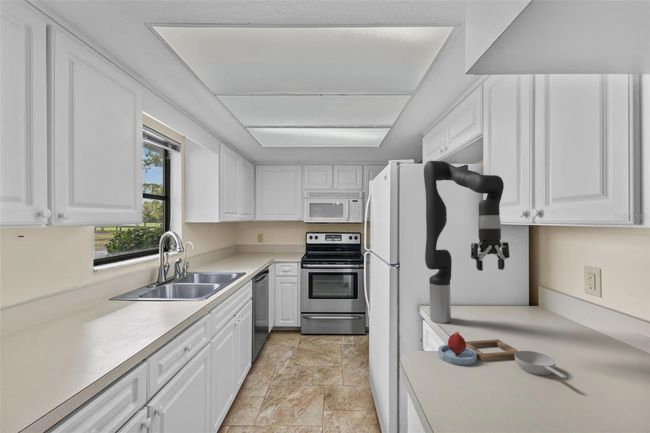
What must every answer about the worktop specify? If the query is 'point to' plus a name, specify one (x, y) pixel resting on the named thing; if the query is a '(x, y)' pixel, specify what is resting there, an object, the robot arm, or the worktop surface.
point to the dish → (457, 356)
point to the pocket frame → (492, 356)
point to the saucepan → (536, 363)
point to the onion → (456, 343)
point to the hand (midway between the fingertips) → (490, 270)
